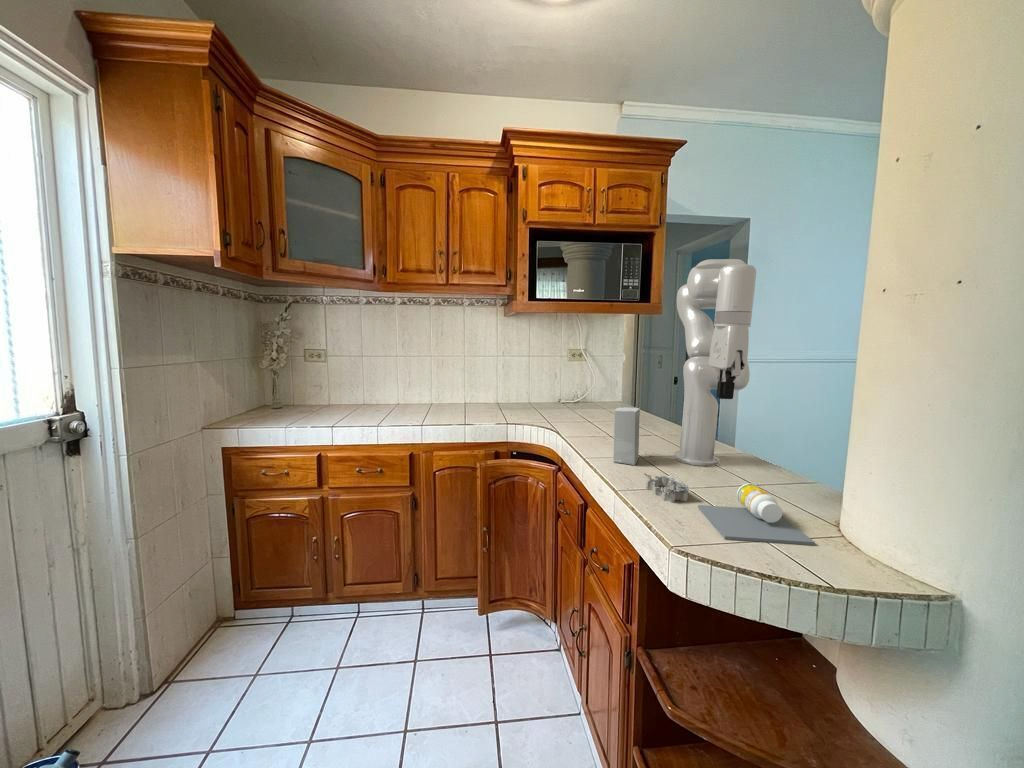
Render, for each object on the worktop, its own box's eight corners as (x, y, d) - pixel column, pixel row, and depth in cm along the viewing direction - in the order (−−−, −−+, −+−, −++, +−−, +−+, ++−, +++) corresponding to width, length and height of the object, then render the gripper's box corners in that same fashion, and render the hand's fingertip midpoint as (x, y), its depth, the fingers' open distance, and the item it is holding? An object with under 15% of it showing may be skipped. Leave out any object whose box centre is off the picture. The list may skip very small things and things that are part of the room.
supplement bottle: (731, 490, 91) (752, 508, 82) (753, 478, 90) (777, 495, 81) (743, 510, 91) (766, 530, 82) (766, 498, 91) (791, 517, 81)
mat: (697, 507, 91) (698, 504, 91) (773, 512, 90) (773, 509, 90) (724, 539, 77) (725, 536, 77) (814, 545, 76) (815, 542, 76)
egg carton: (640, 487, 103) (642, 471, 102) (667, 485, 104) (668, 470, 104) (664, 504, 93) (665, 487, 92) (693, 502, 94) (694, 485, 94)
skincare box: (635, 466, 118) (638, 412, 116) (610, 462, 121) (613, 409, 119) (639, 458, 126) (642, 407, 124) (615, 454, 129) (618, 404, 127)
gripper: (703, 320, 103) (696, 392, 105) (730, 319, 88) (721, 403, 91) (734, 321, 102) (727, 393, 105) (766, 320, 87) (756, 405, 90)
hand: (724, 398), depth 98 cm, fingers closed
